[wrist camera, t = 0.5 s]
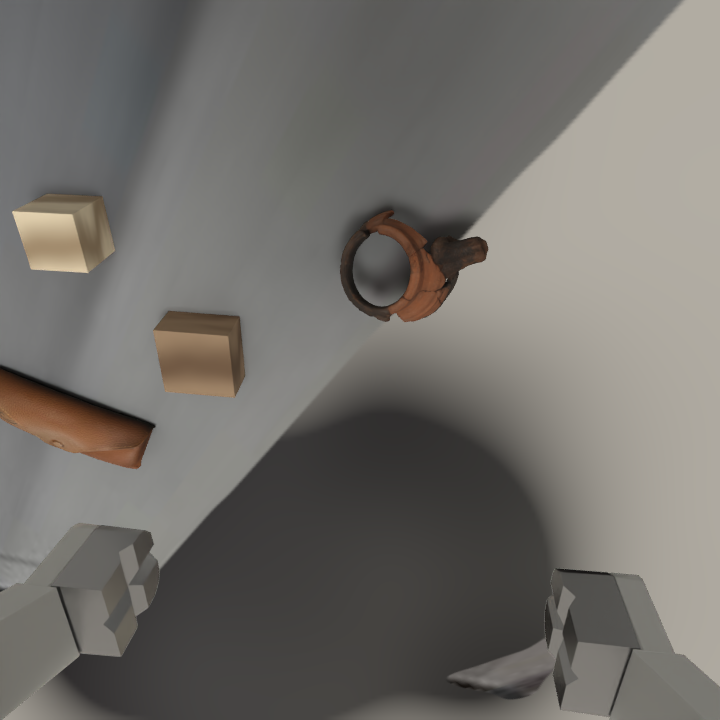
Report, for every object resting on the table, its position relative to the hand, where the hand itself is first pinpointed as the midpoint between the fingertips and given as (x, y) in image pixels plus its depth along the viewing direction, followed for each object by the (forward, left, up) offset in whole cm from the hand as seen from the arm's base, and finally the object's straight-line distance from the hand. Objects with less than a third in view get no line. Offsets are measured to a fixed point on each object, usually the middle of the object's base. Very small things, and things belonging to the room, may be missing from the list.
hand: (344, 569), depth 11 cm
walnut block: (+19, -18, -39) cm, 47 cm away
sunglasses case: (+31, -35, -39) cm, 61 cm away
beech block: (+7, -28, -39) cm, 48 cm away
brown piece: (+9, +2, -39) cm, 40 cm away
